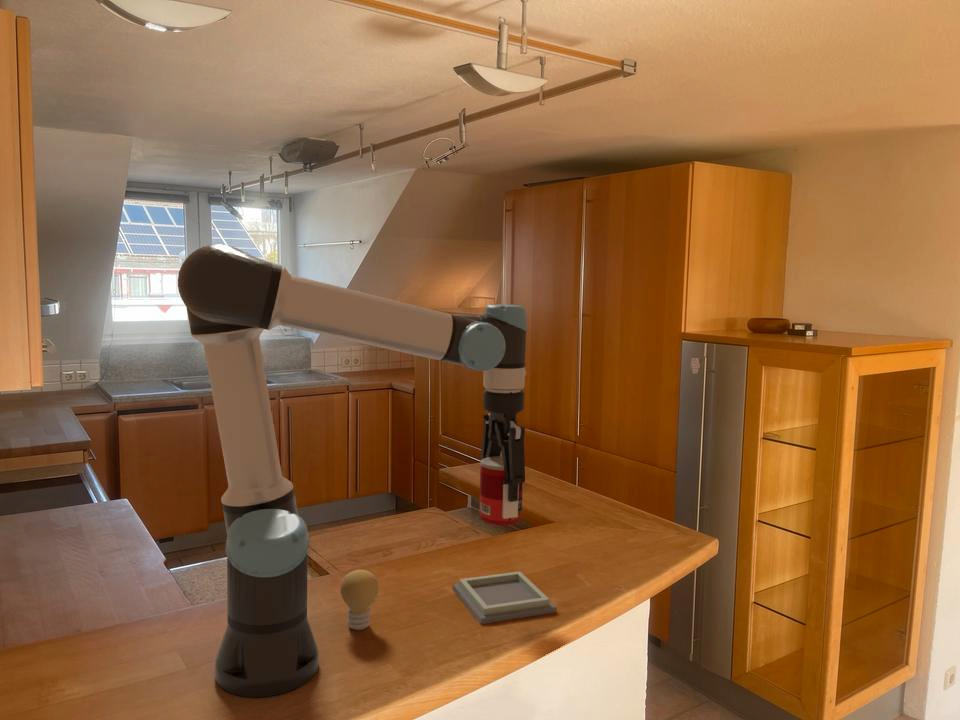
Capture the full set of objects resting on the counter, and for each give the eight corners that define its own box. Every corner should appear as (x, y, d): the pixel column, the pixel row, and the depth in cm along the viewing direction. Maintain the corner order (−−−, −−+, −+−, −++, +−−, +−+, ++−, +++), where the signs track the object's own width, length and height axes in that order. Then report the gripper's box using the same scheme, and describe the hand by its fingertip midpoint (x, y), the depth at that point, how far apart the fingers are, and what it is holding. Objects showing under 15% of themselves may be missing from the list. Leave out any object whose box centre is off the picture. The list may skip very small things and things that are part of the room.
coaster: (480, 624, 127) (481, 612, 126) (452, 588, 140) (452, 577, 140) (556, 612, 132) (556, 600, 132) (521, 579, 146) (522, 568, 146)
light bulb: (363, 614, 129) (364, 560, 127) (384, 627, 124) (386, 572, 123) (332, 625, 124) (333, 570, 123) (354, 639, 120) (355, 582, 118)
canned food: (518, 527, 129) (520, 468, 128) (475, 523, 131) (476, 465, 130) (524, 513, 137) (526, 457, 136) (483, 510, 139) (484, 454, 137)
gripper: (548, 398, 123) (543, 526, 126) (500, 380, 142) (497, 491, 145) (508, 400, 120) (504, 531, 123) (465, 381, 139) (462, 495, 142)
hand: (500, 509), depth 134 cm, fingers closed on canned food, 8 cm apart
